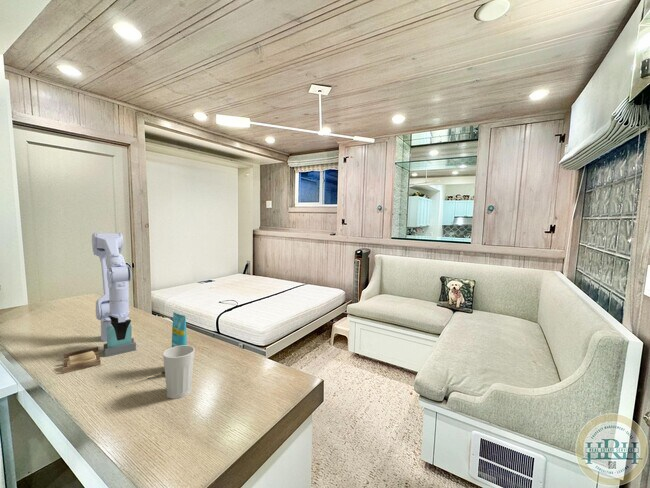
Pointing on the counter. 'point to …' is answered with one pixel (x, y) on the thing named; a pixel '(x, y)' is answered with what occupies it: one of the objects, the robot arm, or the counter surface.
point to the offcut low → (81, 362)
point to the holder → (119, 349)
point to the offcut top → (81, 357)
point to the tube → (179, 330)
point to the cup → (178, 370)
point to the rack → (83, 365)
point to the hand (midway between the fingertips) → (119, 336)
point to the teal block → (113, 340)
